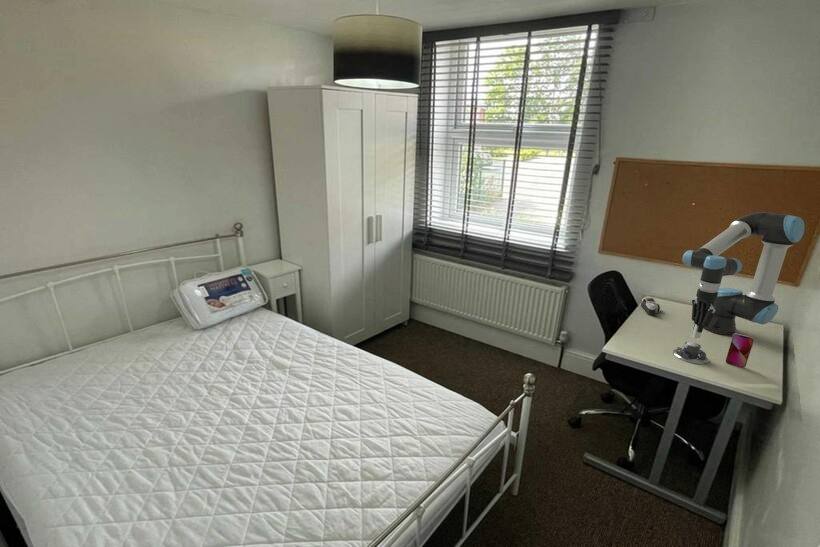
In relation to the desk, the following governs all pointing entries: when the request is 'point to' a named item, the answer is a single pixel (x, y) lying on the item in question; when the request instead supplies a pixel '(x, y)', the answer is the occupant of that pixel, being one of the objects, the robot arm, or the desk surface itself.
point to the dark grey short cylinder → (692, 349)
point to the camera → (650, 306)
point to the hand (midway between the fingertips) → (695, 337)
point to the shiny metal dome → (685, 356)
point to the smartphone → (739, 350)
